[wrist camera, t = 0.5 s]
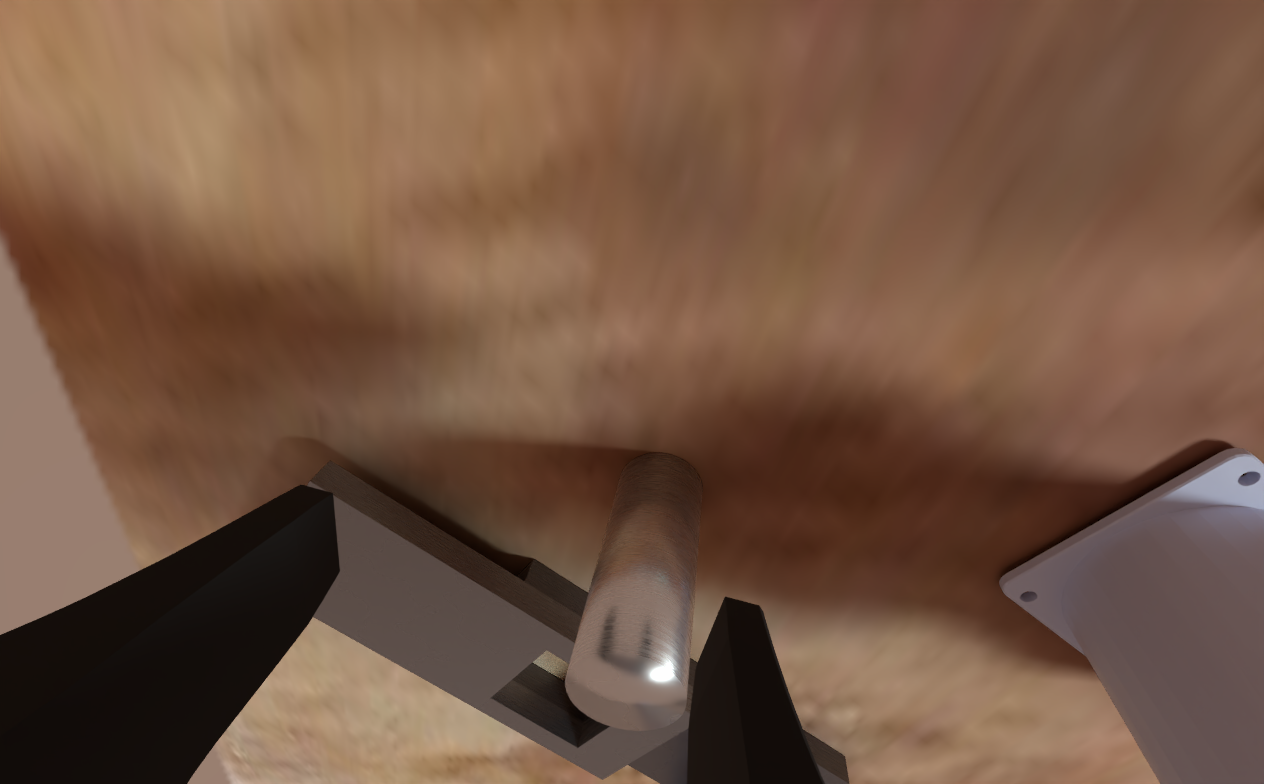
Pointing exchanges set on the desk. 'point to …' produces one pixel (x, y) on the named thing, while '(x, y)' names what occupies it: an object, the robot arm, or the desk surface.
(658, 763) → the end link lower
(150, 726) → the robot arm
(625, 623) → the steel pin
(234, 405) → the desk surface
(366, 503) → the end link upper
